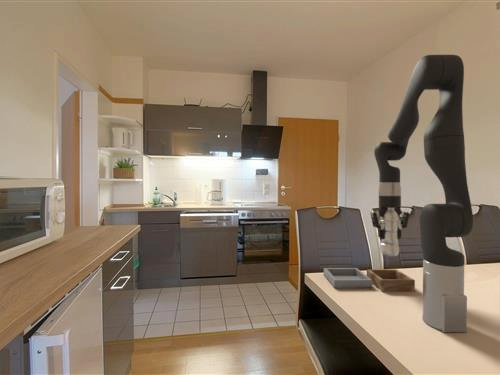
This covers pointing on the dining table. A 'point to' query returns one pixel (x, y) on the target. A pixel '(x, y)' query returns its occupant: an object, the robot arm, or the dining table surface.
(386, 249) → the plastic bottle
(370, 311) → the dining table surface
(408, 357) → the dining table surface
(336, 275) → the grey tray
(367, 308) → the dining table surface
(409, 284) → the walnut collar
